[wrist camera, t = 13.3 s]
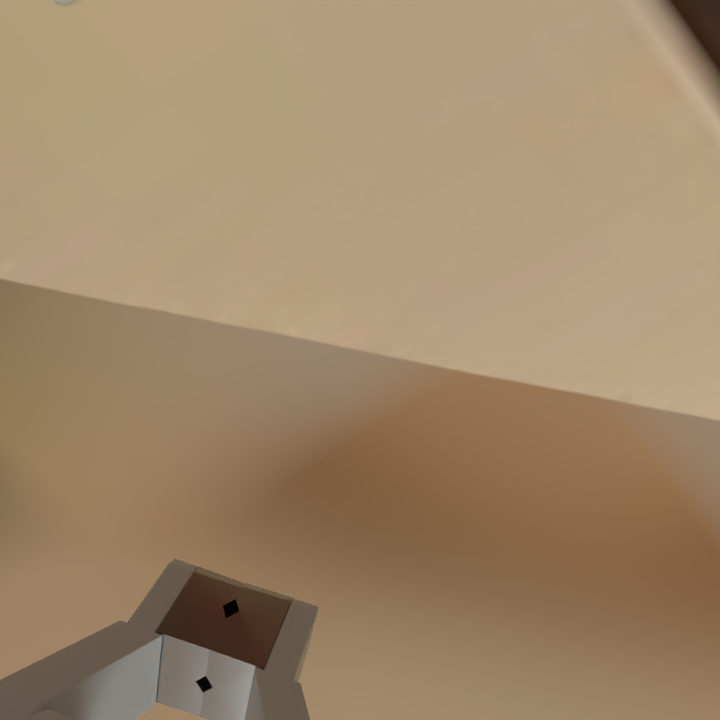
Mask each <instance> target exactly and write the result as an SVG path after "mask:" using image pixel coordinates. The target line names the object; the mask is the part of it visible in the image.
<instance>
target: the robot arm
mask: <svg viewBox="0 0 720 720" xmlns="http://www.w3.org/2000/svg"><path fill="white" fill-rule="evenodd" d="M50 1H53V2H55V3H58V4H66V3H69V2H72V1H73V0H50ZM318 608H319V607H318V606H315V605H312V604H309V603H305V602H303V601H300V600H297V599H293V598H292V597H289V596H286V595H282V594H279V593H276V592H273V591H270V590H267V589H264V588H260V587H257V586H254V585H251V584H247V583H246V584H245V583H242V582H240V581H237V580H234V579H231V578H229V577H226V576H223V575H220V574H218V573H215V572H212V571H209V570H207V569H204V568H201V567H198V566H195V565H192V564H189V563H186V562H184V561H181V560H178V559H174V560H173V561H172V562H170V563H169V564H168V566H167V567H166V568H165V570H164V571H163V572H162V574H161V575H160V577H159V578H158V580H157V581H156V582H155V584H154V585H153V587H152V588H151V590H150V591H149V592H148V594H147V595H146V597H145V598H144V600H143V601H142V602H141V604H140V606H139V607H138V608H137V610H136V611H135V613H134V614H133V615H132V617H131V618H130V620H129V621H128V622H123V621H118V622H116V623H114V624H112V625H110V626H108V627H106V628H104V629H102V630H100V631H98V632H96V633H94V634H92V635H90V636H88V637H86V638H84V639H82V640H80V641H78V642H76V643H74V644H72V645H70V646H68V647H66V648H64V649H62V650H60V651H58V652H56V653H54V654H52V655H50V656H48V657H46V658H44V659H42V660H40V661H37V662H35V663H33V664H32V665H29V666H27V667H25V668H23V669H21V670H20V671H17V672H15V673H13V674H11V675H9V676H8V677H5V678H3V679H1V680H0V720H136V719H137V718H139V717H140V716H141V715H142V714H144V713H145V712H147V711H148V710H149V709H151V708H152V707H153V706H155V703H156V702H157V703H161V704H164V705H167V706H170V707H173V708H176V709H179V710H183V711H185V712H188V713H191V714H194V715H198V716H201V717H203V718H206V719H208V720H310V718H309V714H308V710H307V706H306V703H305V699H304V695H303V691H302V687H301V684H300V683H299V682H298V681H299V678H300V675H301V671H302V668H303V664H304V661H305V658H306V654H307V650H308V647H309V643H310V640H311V635H312V632H313V628H314V624H315V621H316V617H317V613H318Z"/></svg>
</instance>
